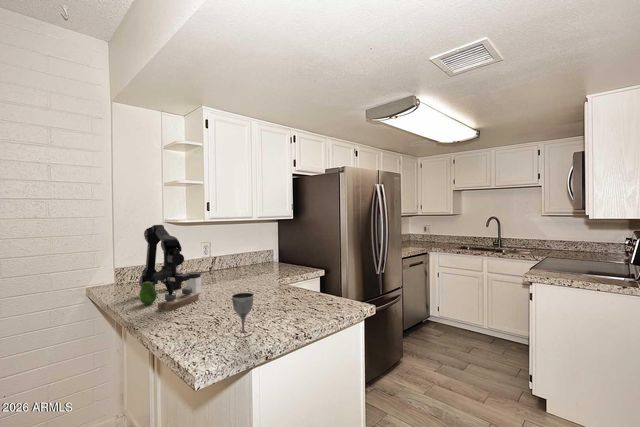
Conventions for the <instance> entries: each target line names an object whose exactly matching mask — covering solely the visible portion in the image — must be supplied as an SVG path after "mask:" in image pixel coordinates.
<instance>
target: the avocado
mask: <svg viewBox="0 0 640 427" xmlns="http://www.w3.org/2000/svg"><path fill="white" fill-rule="evenodd" d="M140 287H141V288H140V290H139V300H140V302H141V303H142V304H143V305H145V306H146V305H151V304H153V303H154V302H155V301H156V300H157V296H158V291H157V290H156V286H155V287H154V286H153V284H152V283H151V282H149V281H147V282H144V283H143V284H142V286H140Z"/></svg>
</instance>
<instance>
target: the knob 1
mask: <svg viewBox="0 0 640 427" xmlns="http://www.w3.org/2000/svg"><path fill="white" fill-rule="evenodd" d="M176 297H177V293H175V292H173V293H172V294H171V295H169V293H166V294H165V295H164V301H165V300H166V301H172V300H175V299H176Z"/></svg>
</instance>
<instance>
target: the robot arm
mask: <svg viewBox="0 0 640 427" xmlns="http://www.w3.org/2000/svg"><path fill="white" fill-rule="evenodd" d="M143 237H144V239H145V241H146V244H147V248H146V249H147V250H146V258H145V268H144V269H143V270H142V272H141V275H140V277H139V281H138V286H139V287H142V284H143V283H144V282H147V281H149V282H151V283H152V284H153V286H154V287H155V288H156V285H158V283H159V281H160V283H162V284H164V286H165V288H166V290H167V292H168V293H167V294H169V295H171V294H172V293H174V291H175V290H174V289H175V287H176V285H177V283H178V282H185V281H186V280H190V276H189V275H188V274H186V273H183V274H180V275H178V273H177V272H178V271H177V268H178V267H179V266H181V265H182V264H183V263H184V261H185V256H184V255H183V253H182V251H183V250H182V246H181V244H180V241H179V240H178V238H177V237H176V236H174V235H171V234H170V233H169V232H168V230H166V228H165V225H162V224H153V225H152V226H150V227H148V228H146V229H145V230H144V232H143ZM159 243H160V248H161V249H162V251H163V253H162V254H163V265H162V266H161V269H159V270H158V271H157V270H156V259H157V258H156V257H157V249H158V248H157V247H158V244H159Z"/></svg>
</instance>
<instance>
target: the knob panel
mask: <svg viewBox="0 0 640 427" xmlns="http://www.w3.org/2000/svg"><path fill="white" fill-rule="evenodd" d="M195 301H199V294H192V293H191V294H189V295H186V294H182V293H181V294H180V295H176V299H175V300H172V301H166V300H165V299H164V301H160V302H157V310H159V311H160V310H161V311H170V312H172V311H173V310H176V309H179V308H181V307H183V306H185V305H188V304H191V303H193V302H195Z"/></svg>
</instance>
